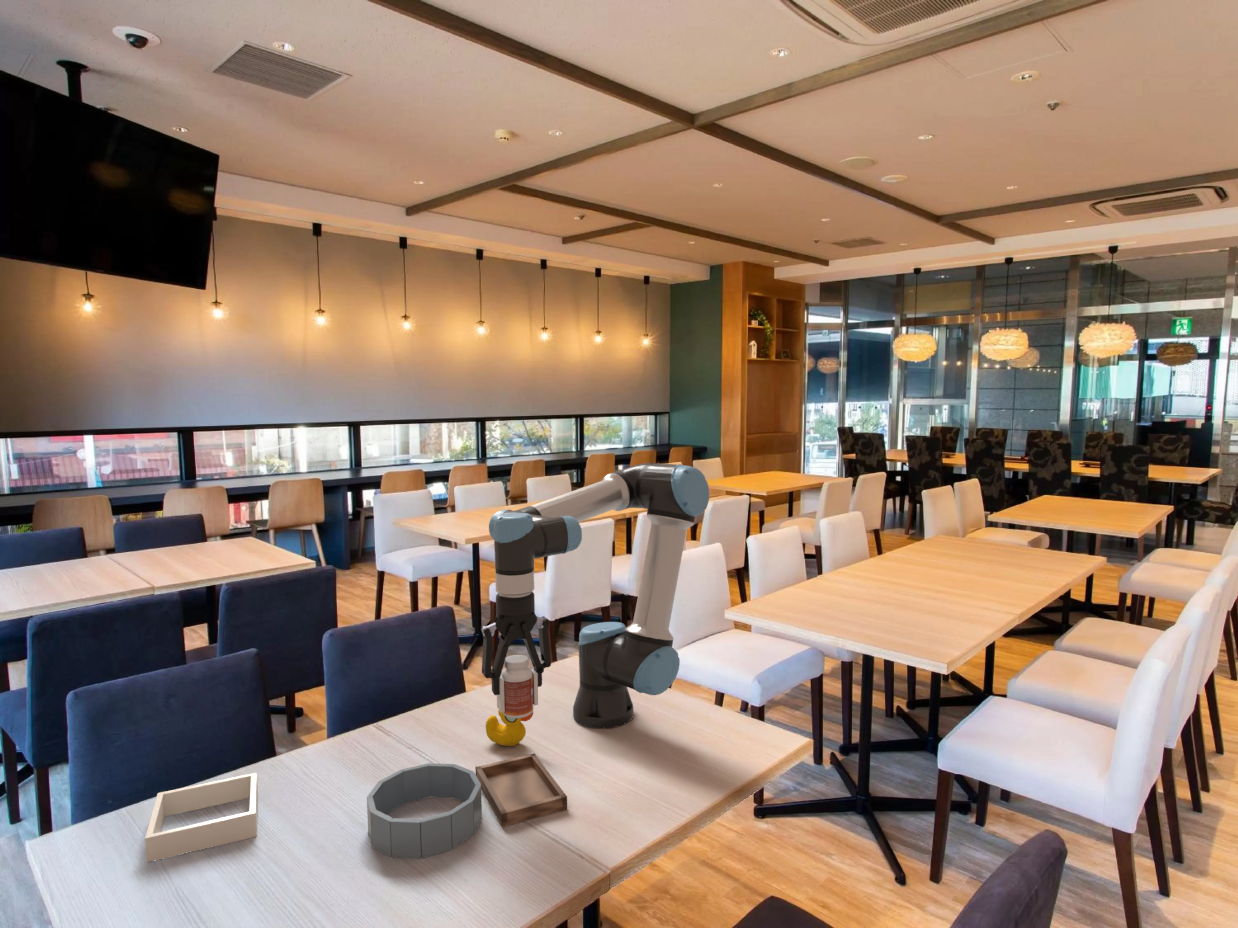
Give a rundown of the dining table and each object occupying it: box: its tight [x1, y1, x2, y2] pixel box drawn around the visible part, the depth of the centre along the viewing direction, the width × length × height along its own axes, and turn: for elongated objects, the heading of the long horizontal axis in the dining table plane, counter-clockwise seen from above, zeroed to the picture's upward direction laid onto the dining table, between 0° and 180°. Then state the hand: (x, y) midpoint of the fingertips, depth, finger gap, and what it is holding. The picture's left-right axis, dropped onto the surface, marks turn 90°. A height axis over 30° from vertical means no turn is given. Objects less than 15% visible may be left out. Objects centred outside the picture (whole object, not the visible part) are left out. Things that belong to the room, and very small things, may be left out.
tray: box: [475, 753, 568, 828], centre depth 145 cm, size 13×19×3 cm
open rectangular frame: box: [144, 772, 259, 863], centre depth 135 cm, size 17×16×4 cm
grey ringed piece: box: [366, 762, 483, 859], centre depth 135 cm, size 20×20×6 cm
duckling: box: [485, 709, 534, 747], centre depth 165 cm, size 11×5×10 cm, turn 79°
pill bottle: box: [501, 654, 534, 718], centre depth 143 cm, size 6×6×11 cm
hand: (517, 705), depth 143 cm, fingers closed on pill bottle, 6 cm apart
